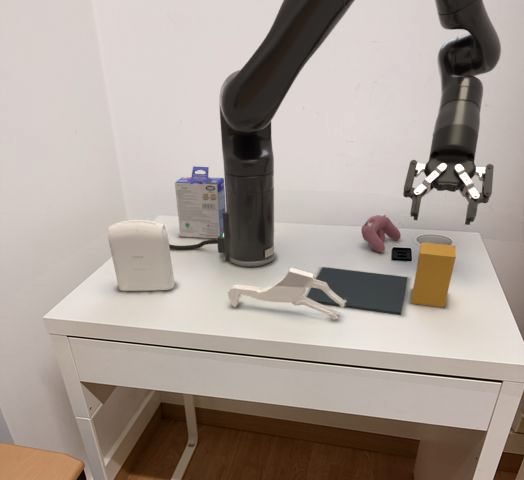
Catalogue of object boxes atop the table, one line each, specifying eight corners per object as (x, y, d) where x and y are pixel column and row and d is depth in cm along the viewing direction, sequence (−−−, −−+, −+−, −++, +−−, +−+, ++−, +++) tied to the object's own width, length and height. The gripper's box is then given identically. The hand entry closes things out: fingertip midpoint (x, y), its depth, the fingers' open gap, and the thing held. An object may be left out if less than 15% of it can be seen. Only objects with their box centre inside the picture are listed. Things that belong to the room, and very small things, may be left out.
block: (410, 303, 81) (419, 253, 76) (412, 290, 85) (421, 242, 80) (444, 307, 80) (455, 256, 75) (444, 294, 84) (455, 245, 79)
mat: (304, 301, 82) (305, 299, 82) (322, 268, 93) (322, 266, 93) (400, 314, 78) (400, 312, 78) (407, 279, 89) (407, 277, 89)
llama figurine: (320, 344, 82) (227, 297, 82) (352, 292, 75) (249, 240, 75) (318, 350, 81) (223, 302, 81) (350, 297, 74) (246, 245, 74)
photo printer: (115, 292, 86) (101, 225, 79) (121, 282, 90) (108, 217, 83) (172, 292, 86) (163, 224, 79) (176, 281, 89) (168, 216, 82)
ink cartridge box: (228, 231, 111) (224, 166, 103) (221, 239, 107) (217, 172, 99) (187, 228, 113) (181, 164, 105) (179, 237, 109) (172, 170, 101)
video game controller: (384, 243, 108) (374, 213, 106) (403, 237, 105) (393, 206, 103) (365, 257, 101) (354, 225, 99) (384, 252, 98) (373, 219, 96)
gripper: (415, 120, 83) (399, 206, 81) (503, 123, 79) (491, 213, 77) (412, 147, 90) (398, 226, 88) (493, 151, 87) (481, 234, 84)
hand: (441, 220), depth 82 cm, fingers open, 8 cm apart
